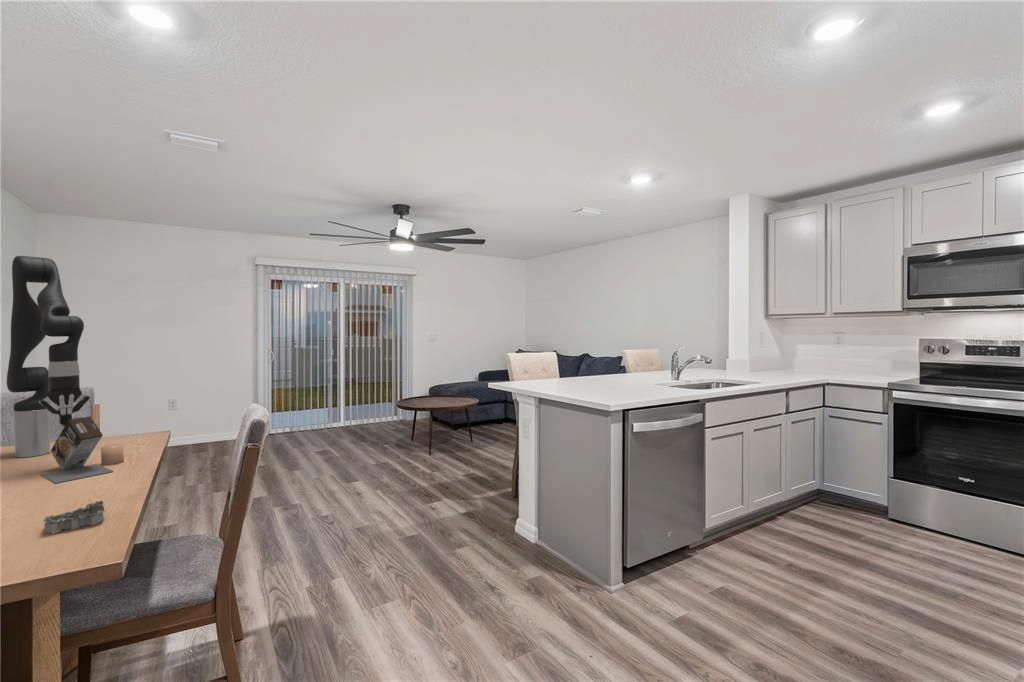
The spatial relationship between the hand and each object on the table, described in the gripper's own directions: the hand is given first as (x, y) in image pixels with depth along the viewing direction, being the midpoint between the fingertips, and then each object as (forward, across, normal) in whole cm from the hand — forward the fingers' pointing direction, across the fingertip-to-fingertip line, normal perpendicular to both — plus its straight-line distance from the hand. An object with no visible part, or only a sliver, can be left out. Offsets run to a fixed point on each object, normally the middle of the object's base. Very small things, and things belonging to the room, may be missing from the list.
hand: (65, 425), depth 157 cm
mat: (+15, 0, +10) cm, 18 cm away
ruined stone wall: (+16, +14, +63) cm, 67 cm away
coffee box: (+12, 0, -2) cm, 12 cm away
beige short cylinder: (+15, -11, +4) cm, 19 cm away
